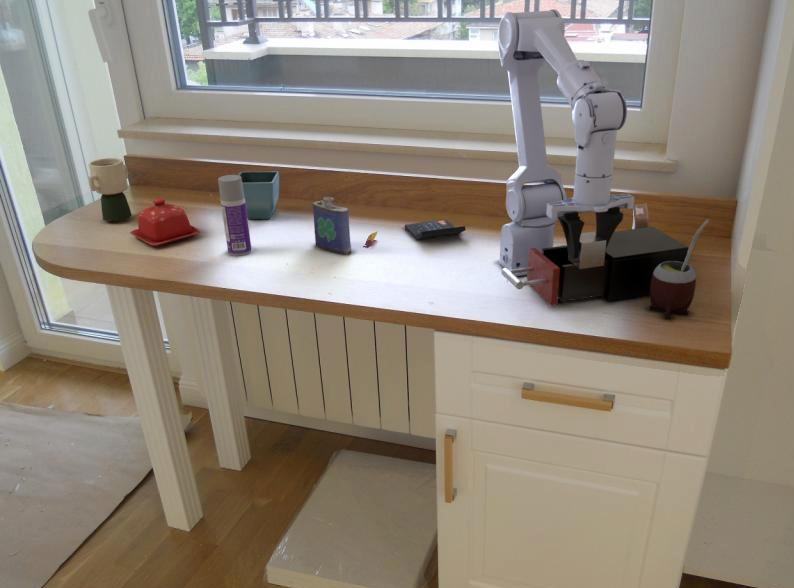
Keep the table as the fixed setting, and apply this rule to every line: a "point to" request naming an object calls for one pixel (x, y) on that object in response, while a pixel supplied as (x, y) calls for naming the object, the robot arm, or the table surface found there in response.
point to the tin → (640, 216)
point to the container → (234, 215)
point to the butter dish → (163, 224)
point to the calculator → (433, 229)
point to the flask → (331, 227)
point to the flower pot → (260, 193)
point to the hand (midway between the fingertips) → (586, 254)
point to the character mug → (110, 187)
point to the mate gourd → (674, 284)
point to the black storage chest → (638, 260)
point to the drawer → (560, 276)
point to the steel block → (590, 251)
